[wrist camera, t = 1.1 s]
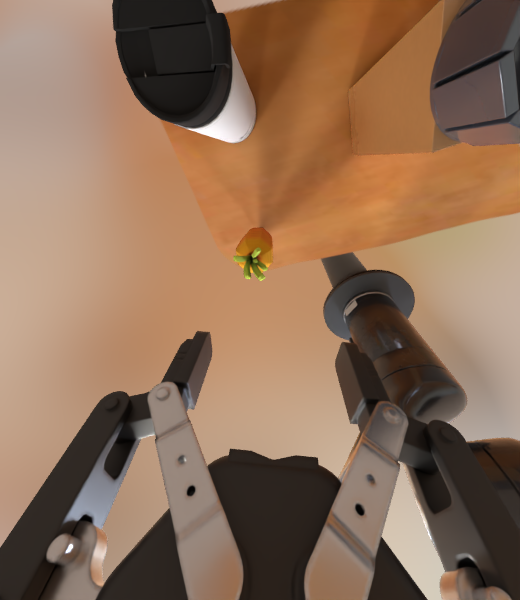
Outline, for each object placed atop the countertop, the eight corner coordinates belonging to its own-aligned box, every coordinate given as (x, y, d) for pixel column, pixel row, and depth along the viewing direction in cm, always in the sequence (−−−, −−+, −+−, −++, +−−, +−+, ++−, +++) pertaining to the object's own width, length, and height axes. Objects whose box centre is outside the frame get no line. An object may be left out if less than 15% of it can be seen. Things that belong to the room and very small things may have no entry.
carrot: (240, 225, 35) (218, 262, 23) (267, 211, 34) (260, 242, 21) (254, 251, 38) (241, 297, 25) (279, 239, 36) (280, 282, 24)
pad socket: (413, 137, 28) (717, 90, 8) (349, 160, 29) (480, 164, 10) (416, 56, 24) (989, -370, 5) (342, 88, 26) (532, -120, 6)
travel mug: (259, 142, 29) (234, 120, 12) (212, 144, 29) (125, 125, 13) (258, 77, 26) (220, -75, 9) (204, 80, 26) (72, -58, 9)
